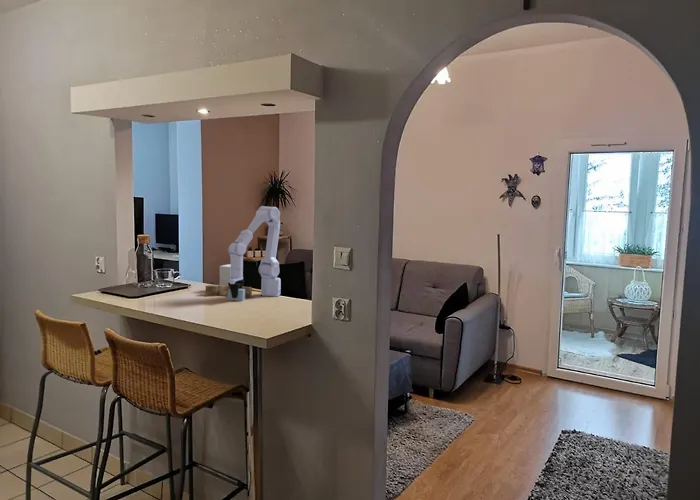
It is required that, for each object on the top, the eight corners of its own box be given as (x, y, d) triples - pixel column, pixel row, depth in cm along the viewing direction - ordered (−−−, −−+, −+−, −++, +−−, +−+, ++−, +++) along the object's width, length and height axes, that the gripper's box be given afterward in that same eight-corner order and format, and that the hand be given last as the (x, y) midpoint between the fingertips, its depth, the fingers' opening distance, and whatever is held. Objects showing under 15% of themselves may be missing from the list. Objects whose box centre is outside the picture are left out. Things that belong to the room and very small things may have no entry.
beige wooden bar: (251, 296, 264) (252, 287, 263) (250, 297, 260) (250, 288, 260) (207, 293, 265) (208, 284, 265) (205, 295, 262) (205, 286, 261)
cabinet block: (245, 299, 256) (245, 288, 255) (242, 301, 252) (242, 290, 251) (229, 298, 256) (229, 288, 256) (226, 300, 252) (226, 289, 251)
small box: (227, 288, 281) (228, 264, 280) (238, 289, 279) (238, 265, 278) (218, 291, 274) (219, 265, 272) (229, 292, 272) (230, 266, 270)
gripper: (232, 265, 260) (232, 293, 261) (223, 269, 245) (223, 299, 247) (247, 266, 259) (246, 294, 261) (238, 270, 245) (238, 300, 246)
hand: (236, 296), depth 254 cm, fingers closed on cabinet block, 4 cm apart
